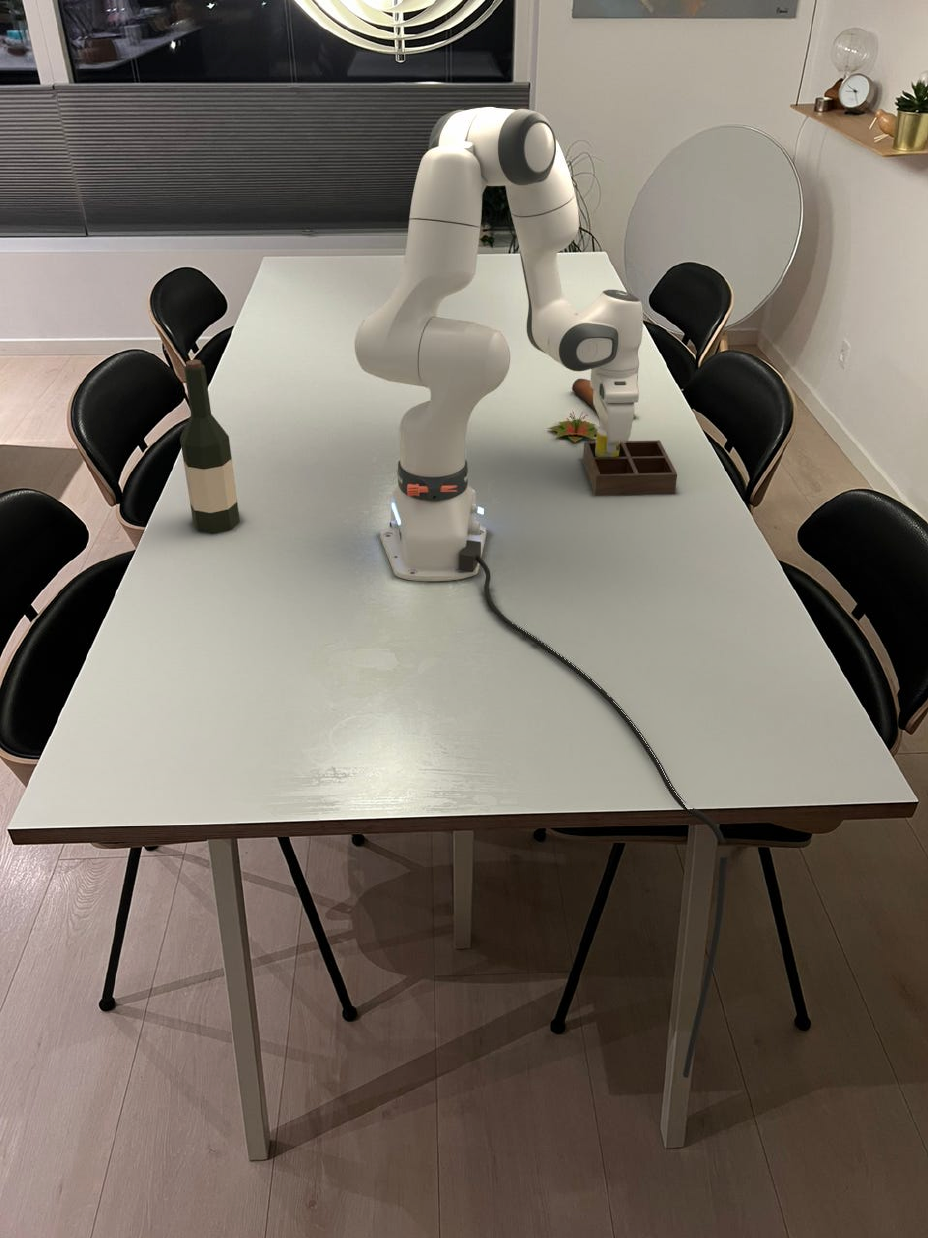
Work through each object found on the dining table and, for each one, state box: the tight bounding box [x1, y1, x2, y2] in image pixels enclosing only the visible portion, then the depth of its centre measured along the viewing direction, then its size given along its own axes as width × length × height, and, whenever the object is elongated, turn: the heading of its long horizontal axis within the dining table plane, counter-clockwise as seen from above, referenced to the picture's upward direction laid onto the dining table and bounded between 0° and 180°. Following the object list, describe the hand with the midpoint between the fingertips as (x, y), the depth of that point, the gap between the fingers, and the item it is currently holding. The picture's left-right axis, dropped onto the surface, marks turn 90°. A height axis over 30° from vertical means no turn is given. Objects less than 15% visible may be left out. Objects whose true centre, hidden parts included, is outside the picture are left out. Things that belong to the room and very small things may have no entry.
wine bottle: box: [179, 359, 241, 535], centre depth 181 cm, size 8×8×30 cm
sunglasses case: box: [571, 378, 637, 419], centre depth 234 cm, size 18×7×7 cm, turn 19°
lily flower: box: [546, 411, 598, 444], centre depth 221 cm, size 12×12×5 cm
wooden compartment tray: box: [582, 439, 678, 496], centre depth 205 cm, size 15×15×4 cm
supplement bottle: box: [595, 418, 620, 457], centre depth 205 cm, size 5×5×8 cm
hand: (607, 445), depth 206 cm, fingers closed on supplement bottle, 5 cm apart
